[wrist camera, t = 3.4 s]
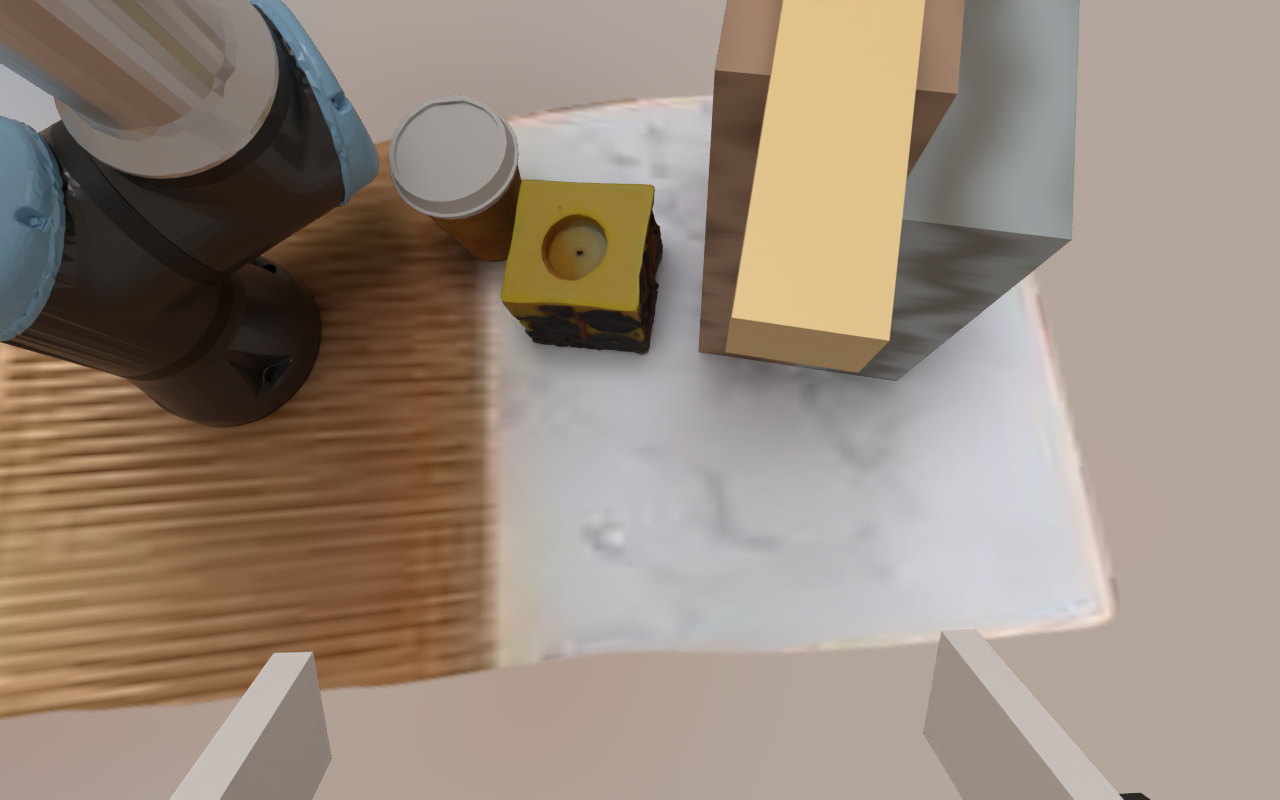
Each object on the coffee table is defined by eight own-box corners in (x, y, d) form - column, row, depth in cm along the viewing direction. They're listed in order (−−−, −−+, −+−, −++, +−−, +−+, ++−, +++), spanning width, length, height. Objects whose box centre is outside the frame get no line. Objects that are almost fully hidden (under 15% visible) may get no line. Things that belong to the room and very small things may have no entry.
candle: (664, 245, 55) (658, 181, 46) (650, 356, 53) (642, 313, 43) (549, 237, 56) (520, 172, 47) (531, 345, 54) (497, 301, 44)
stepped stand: (698, 351, 53) (714, 70, 22) (729, 160, 57) (781, -312, 26) (896, 380, 51) (1220, 119, 20) (914, 181, 55) (1211, -298, 24)
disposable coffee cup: (568, 205, 57) (537, 117, 45) (516, 296, 55) (470, 228, 44) (478, 166, 58) (425, 71, 47) (424, 253, 57) (357, 176, 45)
